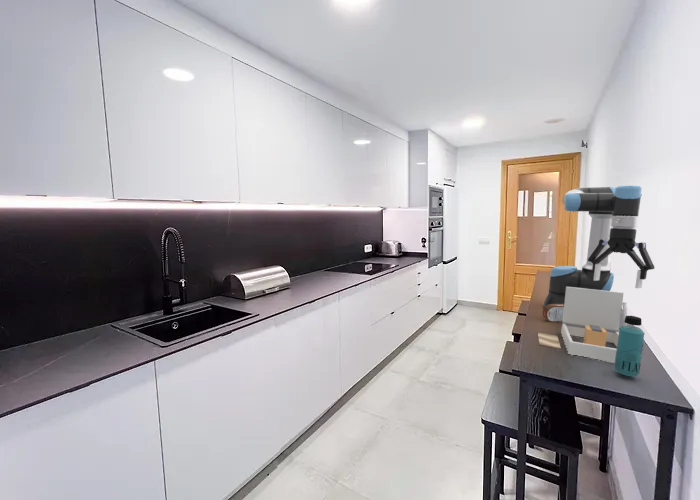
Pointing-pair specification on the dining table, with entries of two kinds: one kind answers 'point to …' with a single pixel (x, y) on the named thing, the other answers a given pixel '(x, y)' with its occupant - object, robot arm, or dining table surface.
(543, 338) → the metal plate
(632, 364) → the beverage bottle
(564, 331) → the equipment case
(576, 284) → the robot arm
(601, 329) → the tan and grey block
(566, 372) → the dining table surface
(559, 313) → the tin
